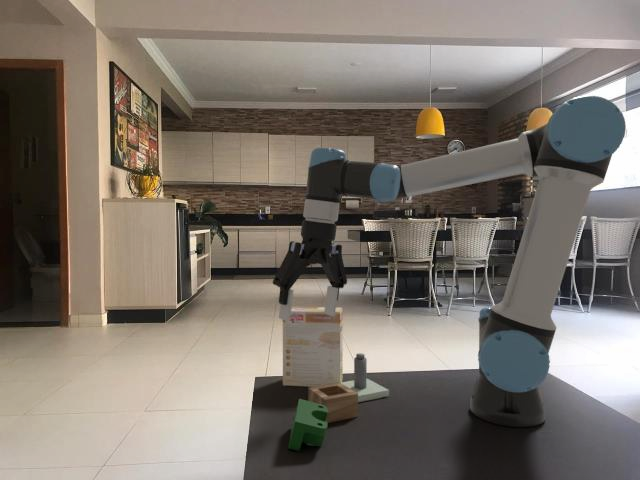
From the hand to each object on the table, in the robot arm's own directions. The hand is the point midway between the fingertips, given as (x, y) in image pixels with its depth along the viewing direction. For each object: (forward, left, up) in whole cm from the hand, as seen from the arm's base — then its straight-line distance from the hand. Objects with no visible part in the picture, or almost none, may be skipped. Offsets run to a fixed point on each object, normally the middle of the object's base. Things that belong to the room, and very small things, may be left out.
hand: (307, 317), depth 102 cm
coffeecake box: (+17, -10, -21) cm, 29 cm away
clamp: (-12, +6, -21) cm, 25 cm away
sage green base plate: (+5, -17, -21) cm, 27 cm away
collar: (-3, -5, -21) cm, 22 cm away
